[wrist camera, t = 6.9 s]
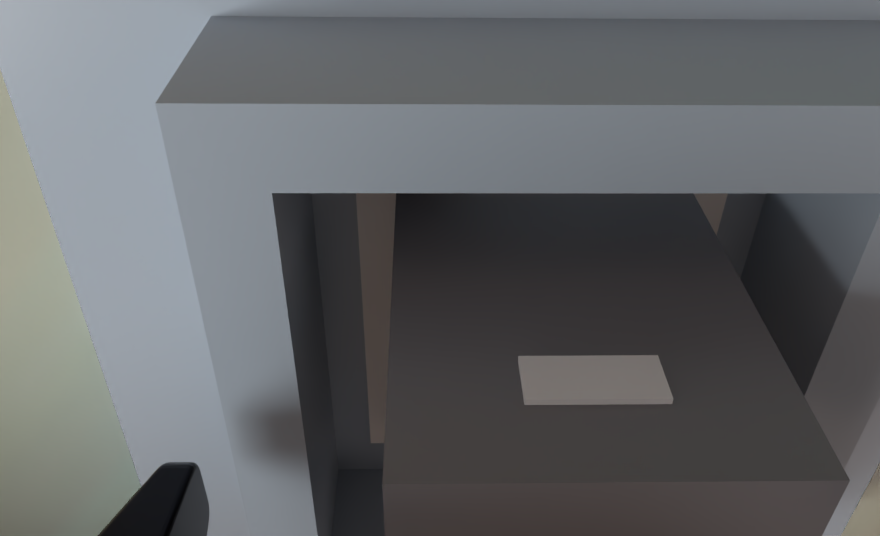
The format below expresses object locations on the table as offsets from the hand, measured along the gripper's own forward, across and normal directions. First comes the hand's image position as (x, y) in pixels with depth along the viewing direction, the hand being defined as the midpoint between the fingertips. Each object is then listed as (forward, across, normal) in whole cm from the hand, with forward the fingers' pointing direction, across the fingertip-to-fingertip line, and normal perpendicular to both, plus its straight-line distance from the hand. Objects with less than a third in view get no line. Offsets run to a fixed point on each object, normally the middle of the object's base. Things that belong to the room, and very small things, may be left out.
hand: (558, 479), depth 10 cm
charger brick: (+3, 0, 0) cm, 3 cm away
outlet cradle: (+4, 0, 0) cm, 4 cm away
